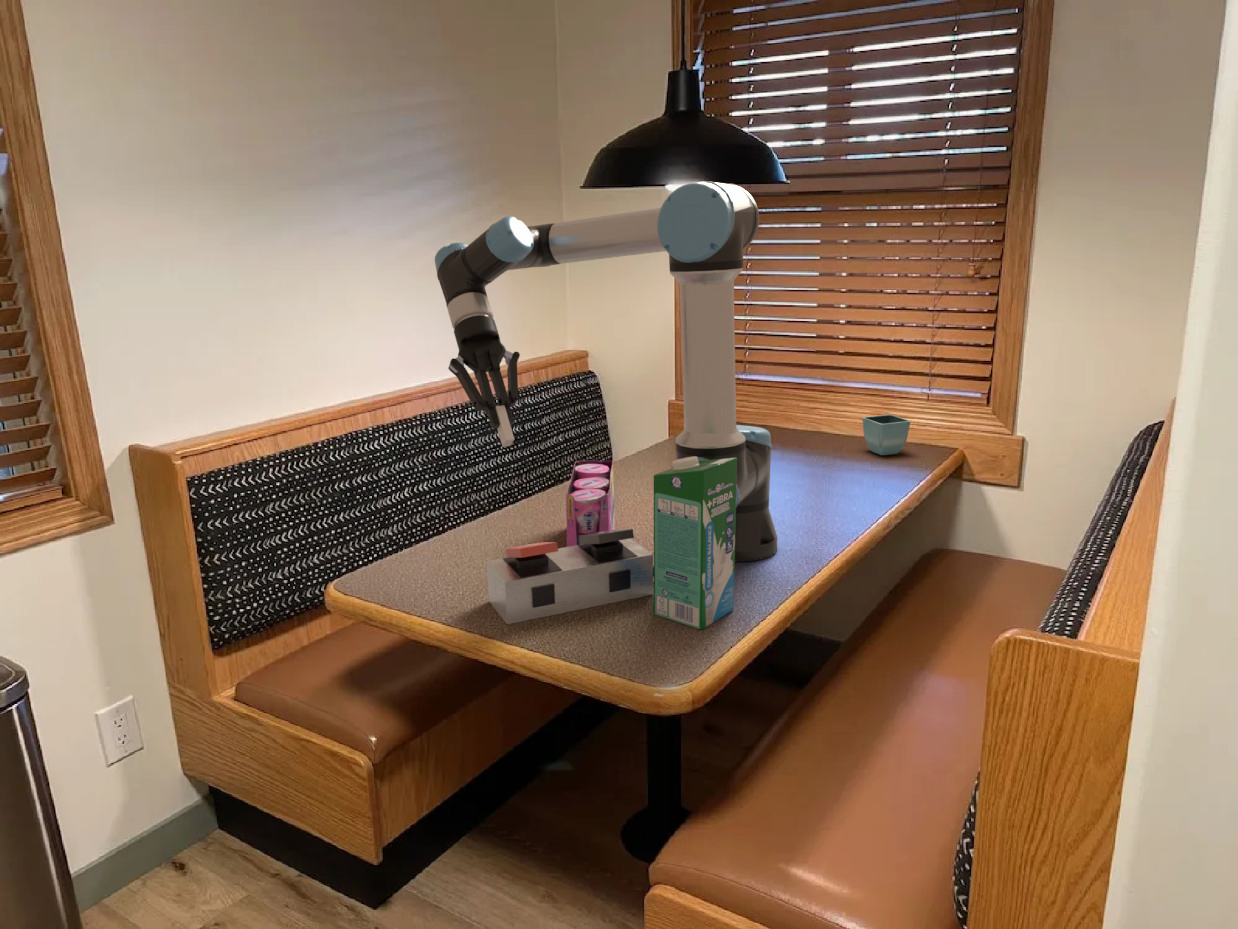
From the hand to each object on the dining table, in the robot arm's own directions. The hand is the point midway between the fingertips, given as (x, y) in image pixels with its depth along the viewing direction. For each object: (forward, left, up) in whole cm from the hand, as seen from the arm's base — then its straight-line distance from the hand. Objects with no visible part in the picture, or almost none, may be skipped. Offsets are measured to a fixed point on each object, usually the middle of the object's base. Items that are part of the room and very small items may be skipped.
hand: (508, 443), depth 154 cm
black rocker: (-17, +11, -13) cm, 24 cm away
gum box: (-13, -11, -23) cm, 29 cm away
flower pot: (-86, -74, -23) cm, 116 cm away
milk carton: (-30, +20, -23) cm, 43 cm away
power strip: (-14, +12, -23) cm, 29 cm away
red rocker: (-5, +16, -13) cm, 22 cm away
